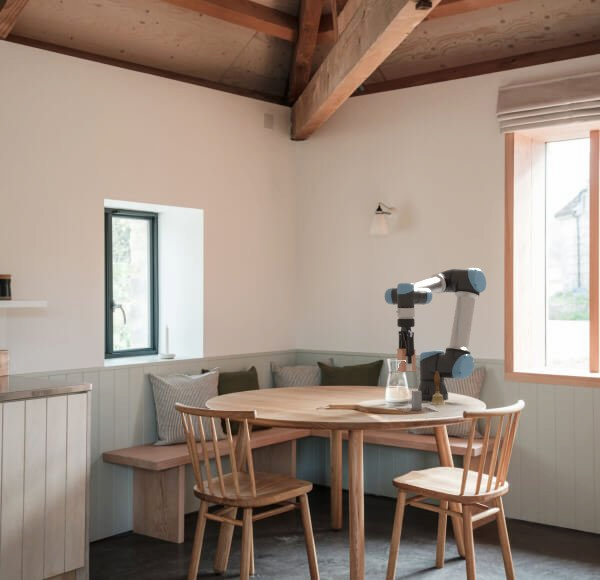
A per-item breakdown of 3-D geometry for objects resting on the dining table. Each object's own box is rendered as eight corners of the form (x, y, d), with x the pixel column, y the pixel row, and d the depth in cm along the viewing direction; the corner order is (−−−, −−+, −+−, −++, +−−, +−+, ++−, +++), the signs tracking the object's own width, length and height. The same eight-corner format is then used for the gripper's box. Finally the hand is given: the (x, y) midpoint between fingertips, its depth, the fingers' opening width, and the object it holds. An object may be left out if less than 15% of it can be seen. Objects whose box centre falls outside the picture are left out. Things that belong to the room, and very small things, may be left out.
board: (426, 410, 342) (426, 407, 342) (438, 415, 328) (438, 411, 328) (395, 411, 339) (395, 408, 339) (406, 416, 325) (406, 412, 325)
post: (419, 409, 335) (418, 390, 336) (421, 410, 332) (421, 391, 332) (411, 409, 335) (411, 390, 335) (414, 410, 332) (414, 391, 332)
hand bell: (432, 408, 348) (432, 372, 348) (425, 406, 356) (425, 370, 356) (450, 408, 349) (449, 372, 349) (443, 405, 357) (442, 370, 358)
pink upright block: (410, 370, 352) (410, 348, 352) (415, 371, 346) (415, 349, 346) (397, 370, 350) (397, 348, 351) (402, 372, 344) (401, 349, 345)
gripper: (390, 317, 357) (391, 368, 357) (405, 318, 338) (405, 372, 338) (406, 317, 359) (407, 368, 358) (421, 318, 340) (422, 372, 339)
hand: (406, 370), depth 348 cm, fingers closed on pink upright block, 6 cm apart
